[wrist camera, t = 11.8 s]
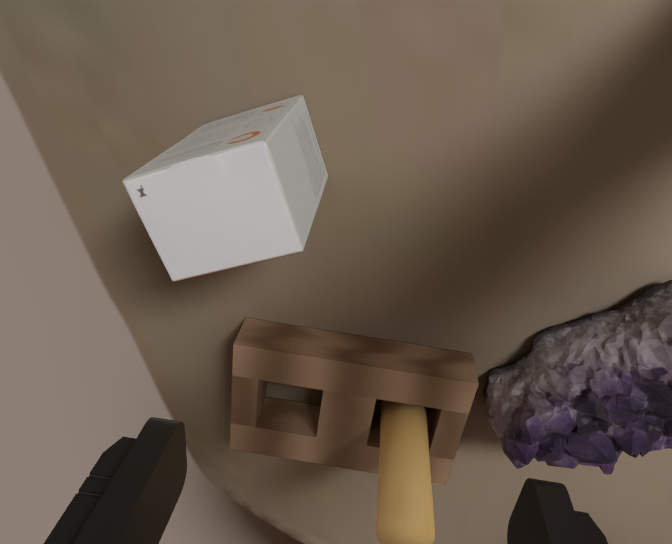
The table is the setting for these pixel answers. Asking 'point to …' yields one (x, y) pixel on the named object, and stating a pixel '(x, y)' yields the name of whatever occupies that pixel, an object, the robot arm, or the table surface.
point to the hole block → (343, 394)
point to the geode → (590, 388)
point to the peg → (404, 476)
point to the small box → (233, 191)
